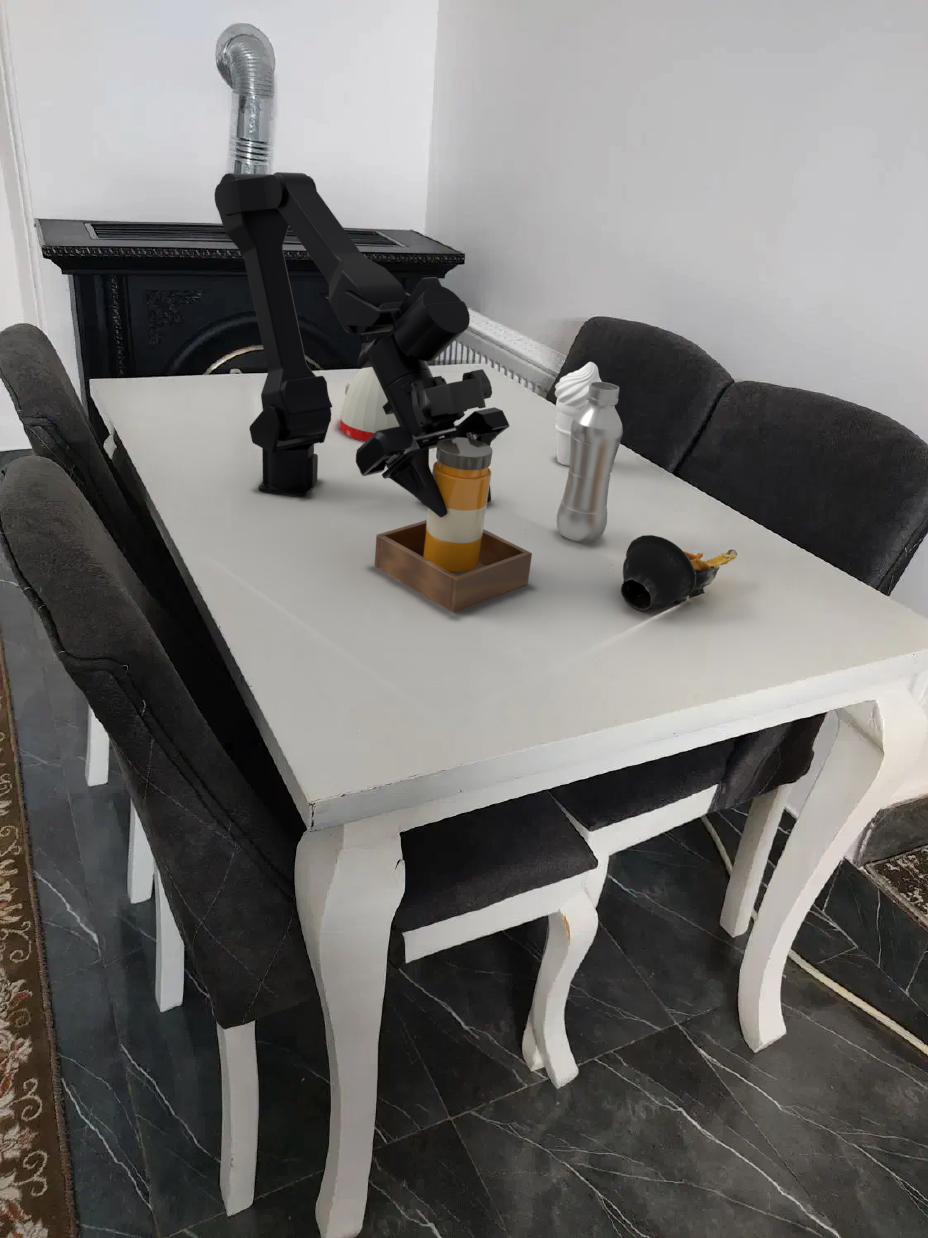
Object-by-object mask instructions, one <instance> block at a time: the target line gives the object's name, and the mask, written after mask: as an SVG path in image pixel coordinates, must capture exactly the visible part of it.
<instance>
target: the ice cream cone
mask: <svg viewBox="0 0 928 1238" xmlns="http://www.w3.org/2000/svg"><path fill="white" fill-rule="evenodd" d="M592 382H603V381H602V379H601V377H600V373H599V368H598V365H597V364H595V362H593V361H589V362H587V363H586V364H584V366H582V367H581V368H579V369H578V370H574V371H573V372H569V373H567V374H566V375H564V376H562V377H560V379H559V381H558V382H557V383H556V384H555V385H554V388H555V391H554V395H555V396H554V397H556V398H557V399H556V403H555V409H556V413H555V424H554V429H555V441H556V443H555V444H556V461H557V463H559V464H561V465H562V466H565V467H566V466H567V467H570V466H569V462H570V442H571V424H572V422H573V419H574V417H575V416H576V415H577V414H578V412H579V411H580V410H581V409H582V408H583V407H584V406H585V405H586V404H587V403H588V400H587V399H586V397H587V394H588V391H589V385H590V383H592Z"/></svg>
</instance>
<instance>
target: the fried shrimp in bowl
mask: <svg viewBox="0 0 928 1238" xmlns="http://www.w3.org/2000/svg"><path fill="white" fill-rule="evenodd" d="M703 557H704V553H703V552H698V553H697V554H694V553H691V552H688V551H684V550H683V549H682V548H681V547H680V546H678V545H677V544H676V543H674V542H673V541H671V540H669V539H667V538H664V537H663V536H658V535H654V534H646V535H641V536H638V537H636V538H635V539H633V540H632V541H631V542H630V543H629V545H628V547H627V549H626V553H625V558H624V561H623V565H622V578H623V580H622V581H623V583H622V584H621V589H620V594H621V595H622V597H623V599H624V601H625V602H626V603H627V604H628V605H629V606H630V607H632V608H633V609H635V610H638V611H642V612H644V611H648V610H649V609H650V608H654V609H657V608H658V609H661V608H664V607H668V606H670V605H671V604H673V603H675V602H677V603H685V602H687V601H689V600H693V599H696V598H700V597H702V596H704V595H706V591H705V589H704V588H705V587H708V586H709V585H711V584H712V582H714V580H715V578H716V575H717V574H718V572H719V570H720V566H724V565H727V564H729V562H731V561H733V560H735V559H737V557H738V552H737V551H736V550H735V549H728V551H726V552H725V553H720V554H719V555H717V556H715V557H713V558H712V557H711V558H710V559H707V560H702V559H701V558H703ZM648 593H649V595H650V604H649V606H647V605H644V604H642V603H640V602H639V601H637V598H638V597H641V596H643V595H646V594H648Z"/></svg>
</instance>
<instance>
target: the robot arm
mask: <svg viewBox="0 0 928 1238" xmlns="http://www.w3.org/2000/svg"><path fill="white" fill-rule="evenodd" d="M214 203H215V207H216V210H217V211H218V215H219V217H220V221H221V225H222V226H223V231H224V233H225V235H226V236H227V237H228V238H229V239H230V241H231V242H232V243H233V244H234V245H235V246H236V248H237V249H238V250H239V251H240V252H241V254H242V257H243V261H244V265H245V270H246V276H247V280H248V284H249V289H250V293H251V297H252V302H253V303H252V304H253V307H254V311H255V316H256V320H257V325H258V326H257V327H258V330H259V335H260V339H261V343H262V348H263V353H264V357H265V358H264V359H265V363H266V366H267V375H266V378H265V381H264V384H263V387H262V389H261V393H260V399H261V407H262V408H261V409H262V410H261V412H260V413H259V415H258V416H257V417H256V418H255V420H253V422H252V423H251V424H250V425H249V433H250V434H249V435H250V438H251V443H252V444H254V445H255V446H258V447H259V448H261V451H262V454H261V455H262V461H261V462H262V482H261V483H260V484H259V485H258V486H257V487H258V489H257V490H258V491H260V492H267V493H273V494H281V495H287V496H295V497H301V498H303V497H306V496H307V495H308V493H310V491H311V490H312V489H313V488H314V487H315V485H316V484H317V483H318V471H319V469H318V467H319V466H318V465H319V455H318V454H317V453H315V445H316V444H324V443H325V441H326V437H327V433H328V430H329V426H330V424H331V422H332V408H333V404H332V402H331V399H330V396H329V390H328V382H327V379H326V378H325V376H324V375H318V376H317V375H316V374H315V373H314V371H312V369H311V368H310V366H308V364H307V360H306V357H305V356H306V354H305V350H304V345H303V340H302V336H301V332H300V327H299V321H298V316H297V312H296V307H295V303H294V297H293V292H292V287H291V283H290V277H289V273H288V267H287V264H286V258H285V254H284V243H285V241H286V237H287V235H288V231H289V228H290V229H291V231H292V233H293V234H294V235H295V237H296V238H297V239H298V241H299V242H300V244H301V245H302V247H303V248H304V250H305V251H306V252H307V254H308V256H309V257H310V258H311V260H312V261H313V262H314V264H315V265H316V267H317V268H318V269H319V271H320V272H321V274H322V275H323V276H324V278H325V280H326V282H327V284H328V302H329V304H330V307H331V309H332V310H333V312H334V314H335V316H336V318H337V321H338V322H339V324H340V325H341V327H342V329H343V330H344V331H345V332H346V333H347V334H349V335H355V336H356V335H357V336H359V335H369V334H377V333H378V335H377V336H376V337H375V338H374V339H373V341H372V342H365V343H364V342H363V343H362V344H361V350H360V353H359V356H358V357H357V363H356V364H357V368H358V369H360V370H361V369H362V368H368V367H372V368H373V370H374V372H375V374H376V376H377V379H378V381H379V383H380V385H381V387H382V389H383V392H384V394H385V396H386V398H387V400H388V402H387V403H386V404H385V405H384V406H383V409H384V412H385V414H386V415H388V414H393V413H394V415H395V418H396V420H397V422H398V424H399V427H394V428H389V429H384V430H379V431H376V432H375V433H374V434H373V435H372V436H371V437H370V438H369V439H368V440H367V441H366V442H365V441H364V443H362V444H361V445H360V447H358V448H357V449H356V453H355V463H356V466H357V468H358V470H359V472H360V474H361V476H362V477H367V476H370V475H376V474H379V473H381V476H382V478H383V480H385V479H389V480H391V481H393V482H394V483H396V484H397V485H398V486H400V487H401V488H403V489H404V490H405V491H407V492H408V493H410V494H411V495H412V496H414V497H415V498H416V499H417V500H419V502H421V503H422V504H423V505H425V507H427V509H428V508H429V509H430V510H432V511H433V512H434V513H435V514H436V515H438V516H439V517H441V518H442V517H444V516H445V515H447V513H448V512H447V509H446V506H445V503H444V500H443V497H442V495H441V493H440V491H439V488H438V486H437V484H436V481H435V479H434V477H433V475H432V470H431V468H430V450H432V449H437V443H438V442H439V441H440V440H442V439H445V438H454V437H459V438H469V439H474V440H478V441H481V442H483V443H485V444H487V445H489V446H490V447H491V444H492V442H493V441H494V440H496V439H497V437H498V436H499V435H501V434H502V433H503V432H505V431H506V430H507V429H508V428H510V423H509V421H508V419H507V417H506V415H505V412H504V411H503V410H502V409H500V408H497V407H494V406H493V407H489V408H486V407H487V406H486V400H487V399H490V398H491V397H492V396H493V387H492V385H491V381H490V379H489V377H488V376H487V374H486V372H485V370H484V369H483V368H482V369H474V370H471V371H468V372H463V373H462V379H461V380H458V381H454V382H447V380H446V379H445V377H442V375H437V376H433V373H432V371H431V370H430V367H429V364H428V362H432V361H434V360H436V359H438V358H439V357H440V356H441V354H443V353H444V352H445V350H447V349H448V348H449V347H450V346H451V345H452V344H453V343H454V342H455V341H456V340H457V339H458V338H459V337H460V336H461V335H462V334H463V333H464V332H465V331H466V330H467V329H468V328H469V326H470V322H471V317H470V311H469V309H468V306H467V303H465V301H463V300H462V299H461V298H460V297H459V296H458V295H457V294H456V293H455V292H453V291H452V290H451V289H449V288H447V287H445V286H443V285H442V284H441V282H440V279H439V278H438V277H436V276H434V277H433V276H432V277H422V278H421V279H420V280H419V282H418V283H417V284H416V286H415V288H414V289H413V291H412V292H411V293H408V292H406V290H405V288H404V287H403V285H402V283H401V282H399V280H398V279H396V277H395V276H394V275H393V274H392V273H390V271H389V270H387V268H386V267H384V266H382V265H380V264H378V263H376V262H375V261H372V260H371V259H369V258H367V257H366V256H365V255H364V254H363V253H362V252H361V251H360V249H359V247H358V246H357V245H356V243H355V242H354V241H353V239H352V238H351V237H350V235H349V234H348V232H347V231H346V230H345V228H344V227H343V225H342V224H341V223H340V221H339V220H338V219H337V217H336V216H335V214H334V213H333V212H332V210H331V209H330V208H329V206H328V204H327V203H326V202H325V200H324V199H323V198H322V196H321V195H320V193H319V192H318V189H317V185H316V182H315V180H314V179H313V177H311V176H310V175H307V174H306V173H304V172H287V171H285V172H284V171H283V172H282V171H275V172H274V173H272V174H271V173H270V174H269V173H240V172H239V173H238V172H228V173H225V174H224V175H222V177H221V179H220V181H219V183H218V184H217V185H216V187H215V190H214ZM476 408H478V409H479V410H474V411H473V412H471V413H470V414H469V415H468V416H466V414H465V412H467V411H468V410H472V409H476ZM465 416H466V417H465ZM464 417H465V418H464ZM462 418H464V419H463V420H462V421H460V420H461V419H462ZM457 421H460V423H458V424H456V423H455V422H457ZM386 468H387V469H386ZM385 469H386V470H385ZM491 502H492V492H491V484H490V485H489V492H488V499H487V505H488V504H490V503H491Z"/></svg>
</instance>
